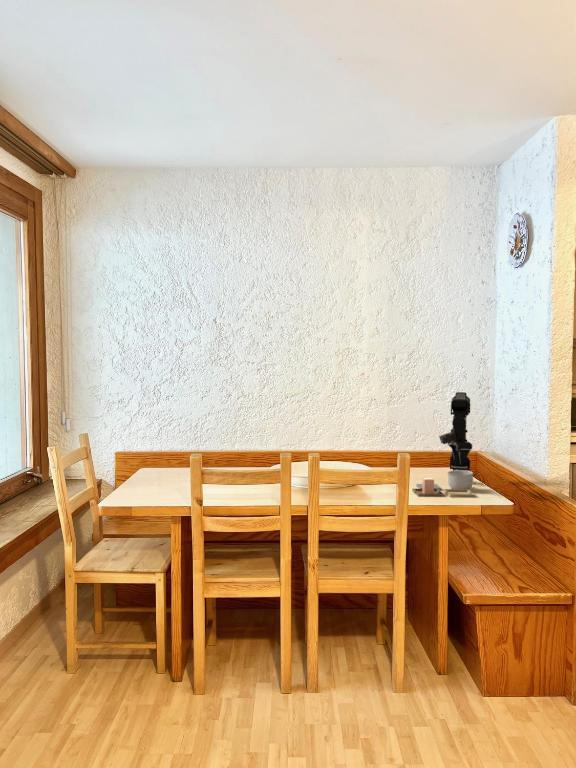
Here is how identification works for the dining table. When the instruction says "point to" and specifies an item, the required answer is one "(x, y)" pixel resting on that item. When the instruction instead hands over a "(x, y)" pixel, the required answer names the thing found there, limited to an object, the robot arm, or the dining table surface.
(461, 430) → the robot arm
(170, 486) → the dining table surface
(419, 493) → the walnut tray
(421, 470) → the dining table surface
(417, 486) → the slate tile
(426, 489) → the letter block
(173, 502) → the dining table surface
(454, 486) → the teacup
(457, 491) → the oak tray
